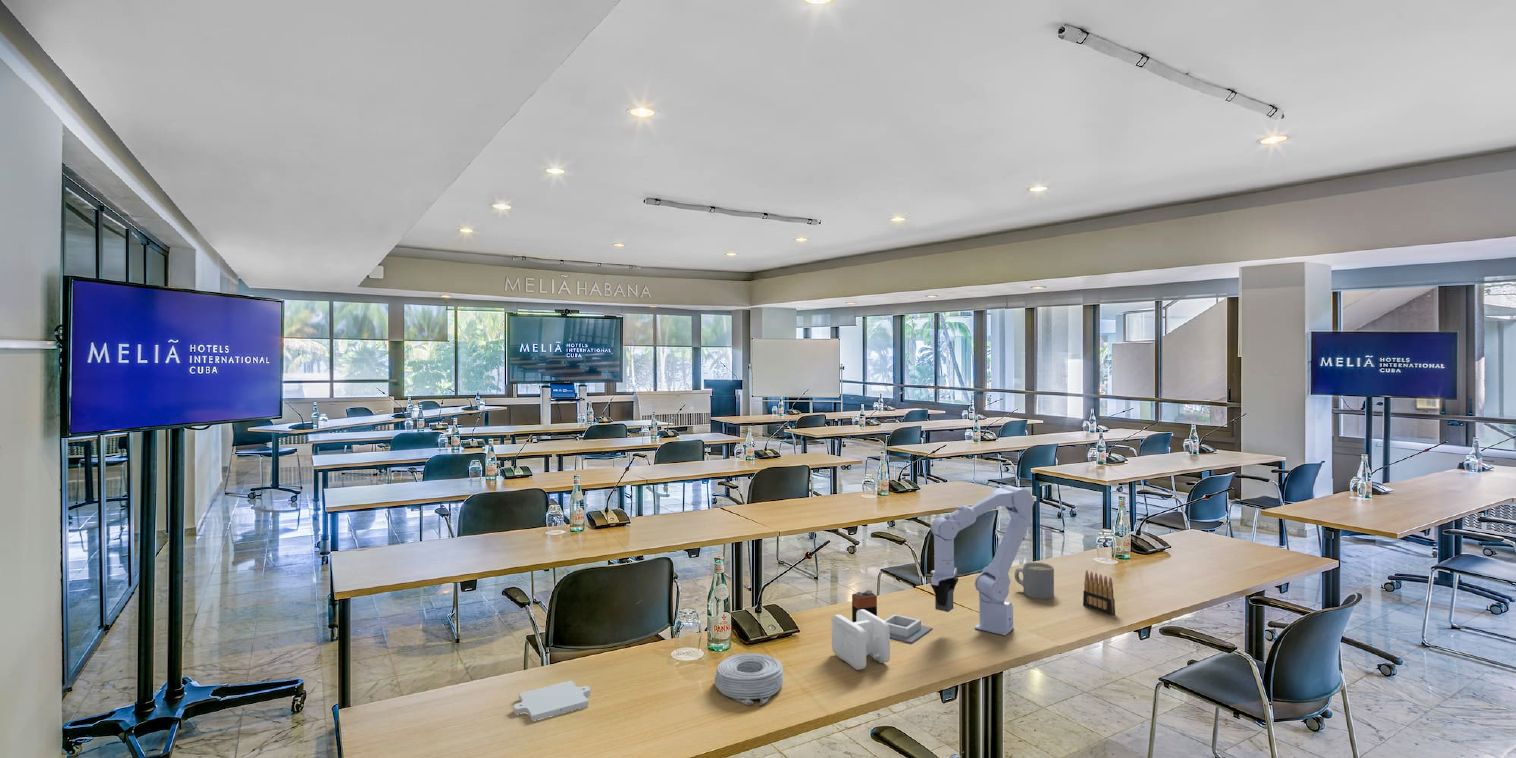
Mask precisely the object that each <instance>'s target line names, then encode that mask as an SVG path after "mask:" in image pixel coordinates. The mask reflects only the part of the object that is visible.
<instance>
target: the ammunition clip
mask: <svg viewBox="0 0 1516 758" xmlns="http://www.w3.org/2000/svg"><path fill="white" fill-rule="evenodd" d="M1083 583H1084V585H1083V586H1084V590H1083V592H1082V594H1083V595H1082V597H1083V599H1082V601H1083V602H1082V606H1084V607H1086V608H1089V609H1092V610H1094V611H1097V612H1100V613H1102V614H1106V615H1109V616H1115V615H1116V606H1115V605H1116V604H1115V600H1116V599H1115V598H1114V597H1115V596H1114V587H1113V586H1114V584H1113V580H1112V577H1111V576H1109V578H1107V575H1104V577H1103V576H1102V574H1100V575H1099V577H1098V573H1097V572H1095V573H1093V571H1092V570H1091V571H1090V574H1089V571H1088V570H1085V575H1084V582H1083Z"/></svg>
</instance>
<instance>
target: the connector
mask: <svg viewBox="0 0 1516 758" xmlns="http://www.w3.org/2000/svg"><path fill="white" fill-rule="evenodd" d="M934 596H935V595H934ZM934 603H935V604H934V605H935V610H936V611H942V612H947V613H949V612H950V611H952V610H954V592H953V588H948V591H947V597H946V604H945V606H940V605H938V604H937V600H936V596H935V600H934Z"/></svg>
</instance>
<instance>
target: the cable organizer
mask: <svg viewBox="0 0 1516 758" xmlns="http://www.w3.org/2000/svg"><path fill="white" fill-rule="evenodd" d="M890 642H891V638H890V629H889V625H888V623H887V622H886V621H885V619H882V618H881V617H879V616H878V615H877V616H875V615H874V614H872V613H870V612H868V611H866V610H864V609H861V610H858V611H857V613H856V621H855V622H852V620H851V619H849V618H847V617H845V616H843V615H841V614H839V613H838V614H833V615H832V617H831V648H832V651H833V653H834V654H835V655H836V656H837V657H838V658H839V659H840V660H842V661H844V662H845V663H847V664H848V665H850V666H851V668H854V669H855V670H858V671H860V670H864V669H866V668H867V656H870V657H872V658H873V661H874V660H875V661H877V662H878V663H880V664H884V663H888V662H890V659H891V648H890V647H891V646H890V645H891V643H890Z"/></svg>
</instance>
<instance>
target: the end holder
mask: <svg viewBox="0 0 1516 758" xmlns="http://www.w3.org/2000/svg"><path fill="white" fill-rule="evenodd" d="M884 620H885V621H886V622H887V623H888V625H889V629H890V640H891V639H893V640H896V641H900V642H903V643H907V644H911V645H912V644H913V643H915V642H916V641H918V640H919V639H921V638H922V637H924V636H925V635H927V634H928V633H929V632H931V631H932V630H933V627H930V626H927V625H923V624H922V619H918V618H913V617H909V616H904V615H900V614H895V613H893V614H892V615H890V616H889V617H887V618H886V619H884ZM926 633H927V634H926Z"/></svg>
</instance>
